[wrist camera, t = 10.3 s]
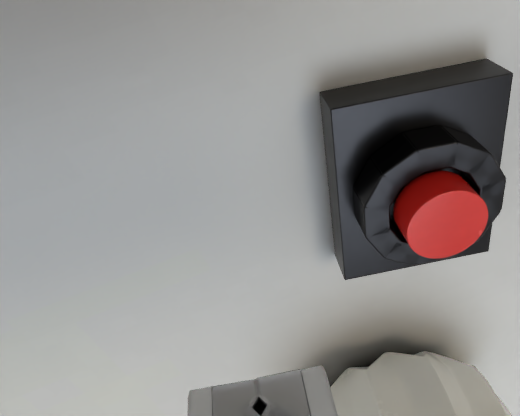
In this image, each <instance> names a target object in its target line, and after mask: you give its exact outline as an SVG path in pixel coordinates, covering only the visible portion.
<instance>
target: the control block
mask: <svg viewBox="0 0 520 416" xmlns="http://www.w3.org/2000/svg"><path fill="white" fill-rule="evenodd" d="M512 77H513V73H512V72H510V71H508V70H506V69H505V68H503V67H501V66H499V65H498V64H496V63H494V62H492V61H490V60H489V59H483V60H478V61H473V62H468V63H463V64H458V65H453V66H448V67H443V68H438V69H433V70H428V71H423V72H418V73H413V74H408V75H403V76H398V77H393V78H388V79H383V80H378V81H373V82H368V83H363V84H358V85H353V86H348V87H343V88H338V89H333V90H328V91H323V92H320V102H321V113H322V123H323V134H324V144H325V155H326V165H327V175H328V186H329V196H330V207H331V217H332V228H333V238H334V249H335V256H336V258H337V261H338V264H339V266H340V269H341V271H342V274H343V276H344V279H345V280H347V279H352V278H357V277H362V276H367V275H372V274H377V273H382V272H387V271H392V270H397V269H402V268H406V267H411V266H416V265H421V264H426V263H431V262H436V261H441V260H446V259H451V258H456V257H461V256H466V255H471V254H476V253H481V252H486V251H488V249H489V242H490V235H491V228H492V222H493V221H494V220H495V218H496V217H497V215H498V214H499V213H500V210H501V209H502V202H503V196H504V189H505V182H506V178H505V176H504V174H503V172H502V171H501V169H500V163H501V156H502V149H503V141H504V134H505V127H506V120H507V113H508V105H509V98H510V91H511V84H512ZM434 171H449V172H453V173H456V174H458V175H459V176H461V177H462V178H463V179H464V180H465V181H466V182H467V183H468V184H469V185H470V186H471V187H472V188H473V189H474V190H475V191H476V192H477V194H478V195H479V196H480V197H481V198H482V199H483V200H484V201H485V203H486V205H487V208H488V221H487V224H486V227H485V229H484V231H483V233H482V234H481V236H480V237H479V238H478V239H477V240H476V241H475V242H474V243H473V244H472V245H471V246H470V247H468V248H467V249H465V250H464V251H462V252H460V253H458V254H456V255H453V256H450V257H446V258H438V259H433V258H426V257H423V256H421V255H419V254H417V253H415V252H414V251H413V250H412V249H411V247H410V246H409V244H408V243H407V241H406V240H405V238H404V236H403V235H402V233H401V231H400V230H399V228H398V226H397V225H396V223H395V220H394V216H393V209H394V204H395V201H396V199H397V197H398V195H399V194H400V192H401V191H402V190H403V189H404V187H405V186H406V185H407V184H409V183H410V182H411V181H412V180H414V179H416V178H417V177H419V176H421V175H423V174H426V173H429V172H434Z"/></svg>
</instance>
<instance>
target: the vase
mask: <svg viewBox="0 0 520 416" xmlns="http://www.w3.org/2000/svg"><path fill="white" fill-rule="evenodd" d="M330 389H331V392H332V396H333V400H334V403H335V407H336V411H337V414H338V416H512V415H511V413H510V412H509V410H508V408H507V407H506V406H505V405H504V404H503V402H502V401H501V400H500V399H499V398H498V396H497V395H496V394H495V393H494V391H493V389H492V388H491V386H490V384H489V383H488V381H487V380H486V379H485V378H484V376H483V375H482V374H481V373H480V372H479V371H478V370H477V368H476V367H475V366H472V365H469V364H466V363H463V362H460V361H458V360H455V359H452V358H449V357H445V356H442V355H439V354H436V353H432V352H427V351H423V352H419V353H417V354H414V355H410V354H403V353H394V352H385V353H384V354H382V355H381V356H380V357H379V358H378V359H377V360H376V361H375V362H374V363H373V364H371V365H370V366H369V367H351V368H347V369H346V370H345V371H344V372H343V373H342V374H341V375H340V376H339V378H338V379H337V380H336V381H335V382H334V383H333V385H332V386H331V387H330Z"/></svg>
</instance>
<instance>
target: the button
mask: <svg viewBox="0 0 520 416" xmlns="http://www.w3.org/2000/svg"><path fill="white" fill-rule="evenodd" d="M393 216H394V220H395V223H396V225H397V226H398V228H399V230H400V231H401V233H402V235H403V236H404V238H405V240H406V241H407V243H408V244H409V246H410V247H411V249H412V250H413V251H414V252H415V253H417V254H419V255H421V256H423V257H426V258H433V259H438V258H446V257H450V256H453V255H456V254H458V253H460V252H462V251H464V250H465V249H467V248H468V247H470V246H471V245H472V244H473V243H474V242H475V241H476V240H477V239H478V238H479V237H480V236H481V234H482V233H483V231H484V229H485V227H486V224H487V221H488V208H487V205H486V203H485V201H484V200H483V199H482V198H481V197H480V196H479V195H478V194H477V192H476V191H475V190H474V189H473V188H472V187H471V186H470V185H469V184H468V183H467V182H466V181H465V180H464V179H463V178H462V177H461V176H459V175H458V174H456V173H453V172H449V171H434V172H429V173H426V174H423V175H421V176H419V177H417V178H416V179H414V180H412V181H411V182H410V183H409V184H407V185H406V186H405V187H404V189H403V190H402V191H401V192H400V194H399V195H398V197H397V199H396V201H395V204H394V209H393Z"/></svg>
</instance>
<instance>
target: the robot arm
mask: <svg viewBox="0 0 520 416" xmlns="http://www.w3.org/2000/svg"><path fill="white" fill-rule="evenodd" d="M188 416H338V414H337V411H336V407H335V403H334V400H333V396H332V392H331V389H330V385H329V382H328V378H327V374H326V371H325V369H324V367H323V365H321V366H316V367H311V368H307V369H302V370H301V371H300V369H298V370H293V371H288V372H283V373H279V374H274V375H269V376H264V377H259V378H257V379H253V380H247V381H241V382H236V383H230V384H224V385H218V386H211V387H206V388H201V389H195V390H190V392H189V396H188Z"/></svg>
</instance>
